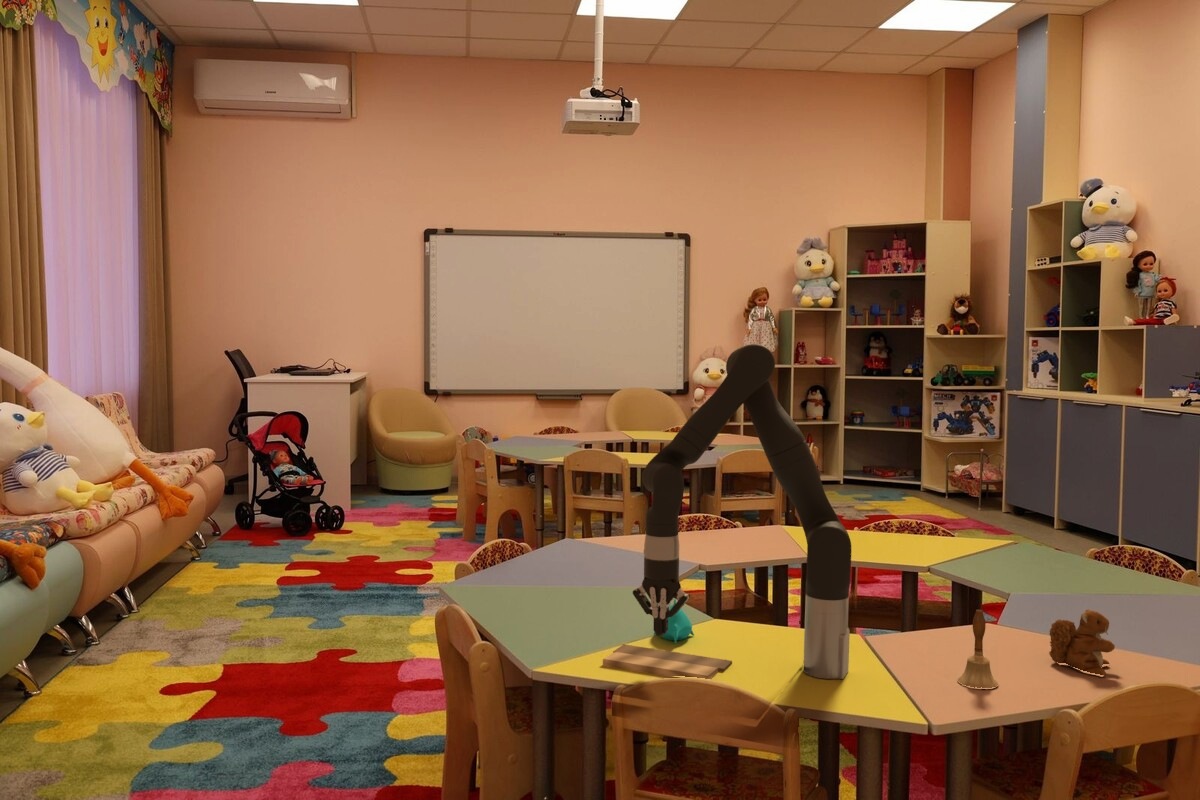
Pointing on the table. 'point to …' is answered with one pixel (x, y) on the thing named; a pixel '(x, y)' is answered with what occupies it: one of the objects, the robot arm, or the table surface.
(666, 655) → the base strip
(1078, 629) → the stuffed squirrel
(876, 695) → the table surface
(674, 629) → the toy shark
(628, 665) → the plank
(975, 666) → the hand bell
